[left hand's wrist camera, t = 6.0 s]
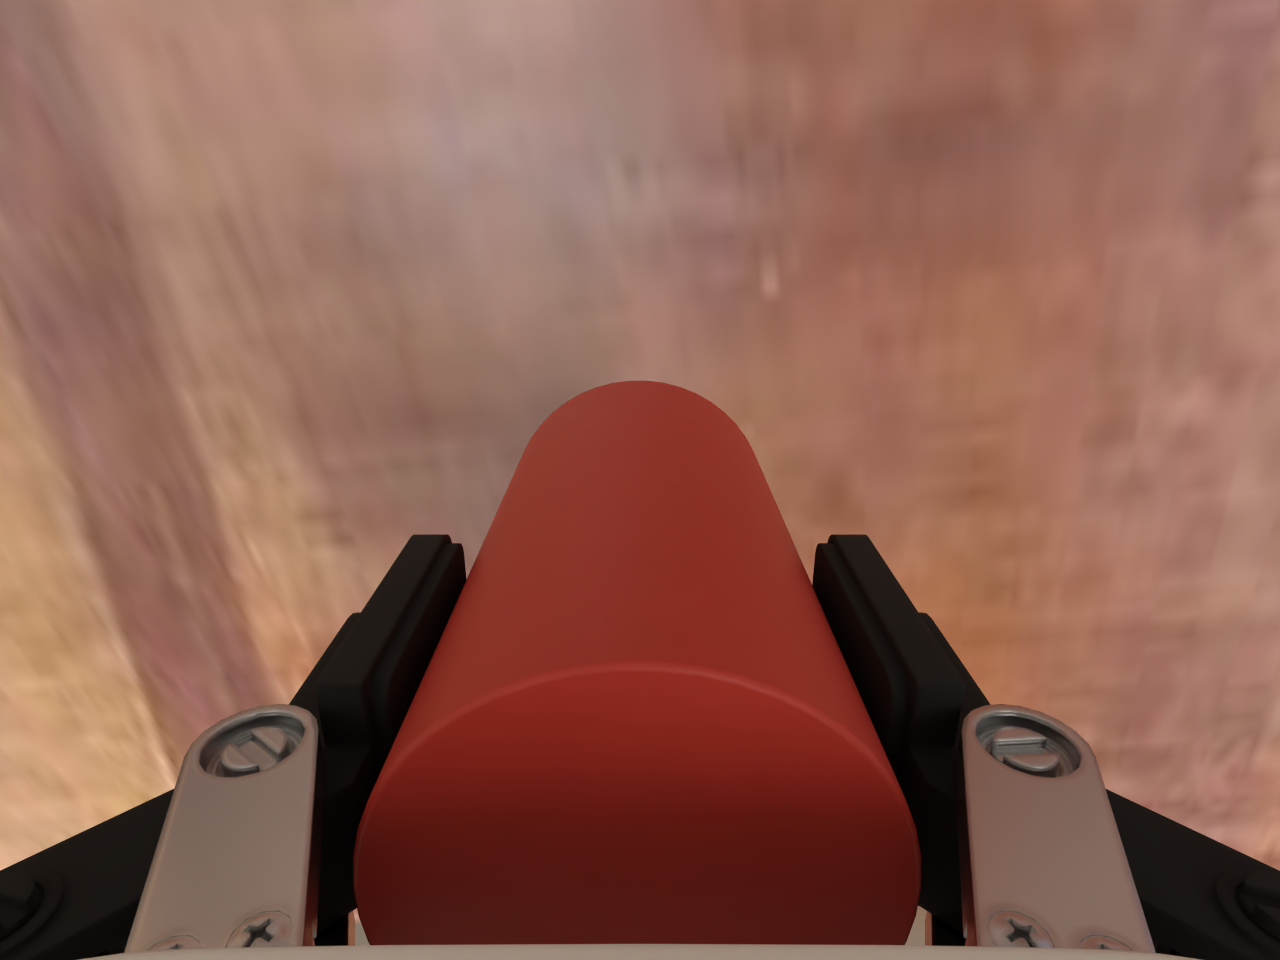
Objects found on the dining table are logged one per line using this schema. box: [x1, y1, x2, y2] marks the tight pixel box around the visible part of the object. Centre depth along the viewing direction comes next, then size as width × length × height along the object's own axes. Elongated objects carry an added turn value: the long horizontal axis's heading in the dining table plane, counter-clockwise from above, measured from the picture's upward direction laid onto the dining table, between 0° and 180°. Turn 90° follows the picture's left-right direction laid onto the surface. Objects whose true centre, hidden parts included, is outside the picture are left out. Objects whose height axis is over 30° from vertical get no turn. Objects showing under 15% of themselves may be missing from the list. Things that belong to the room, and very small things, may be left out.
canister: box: [353, 381, 921, 945], centre depth 12 cm, size 6×6×10 cm
